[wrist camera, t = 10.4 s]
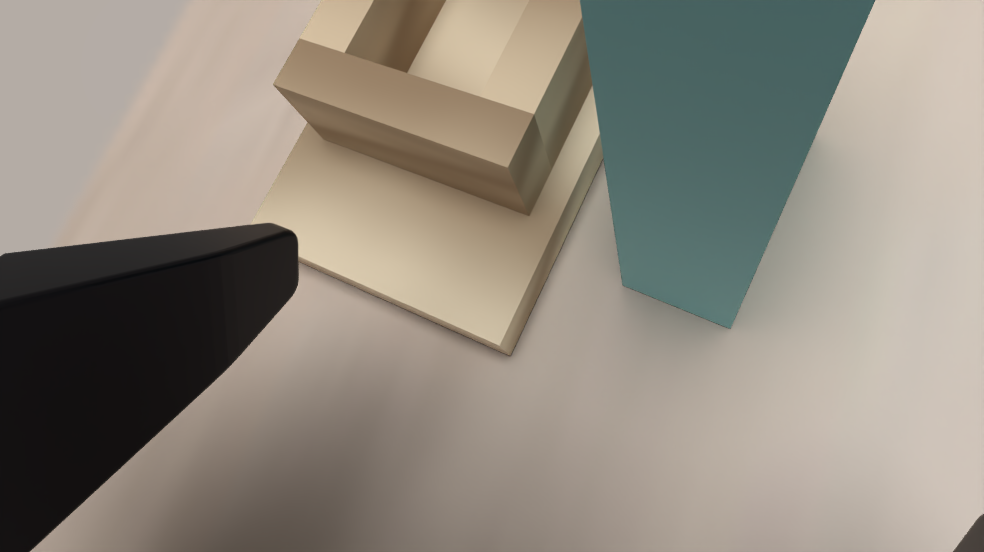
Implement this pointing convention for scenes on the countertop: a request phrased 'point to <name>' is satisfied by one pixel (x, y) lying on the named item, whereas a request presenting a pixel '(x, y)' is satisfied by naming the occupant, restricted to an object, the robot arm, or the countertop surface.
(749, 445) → the countertop surface
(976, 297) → the countertop surface
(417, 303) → the rack
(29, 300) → the robot arm
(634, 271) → the teal panel
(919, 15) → the countertop surface
